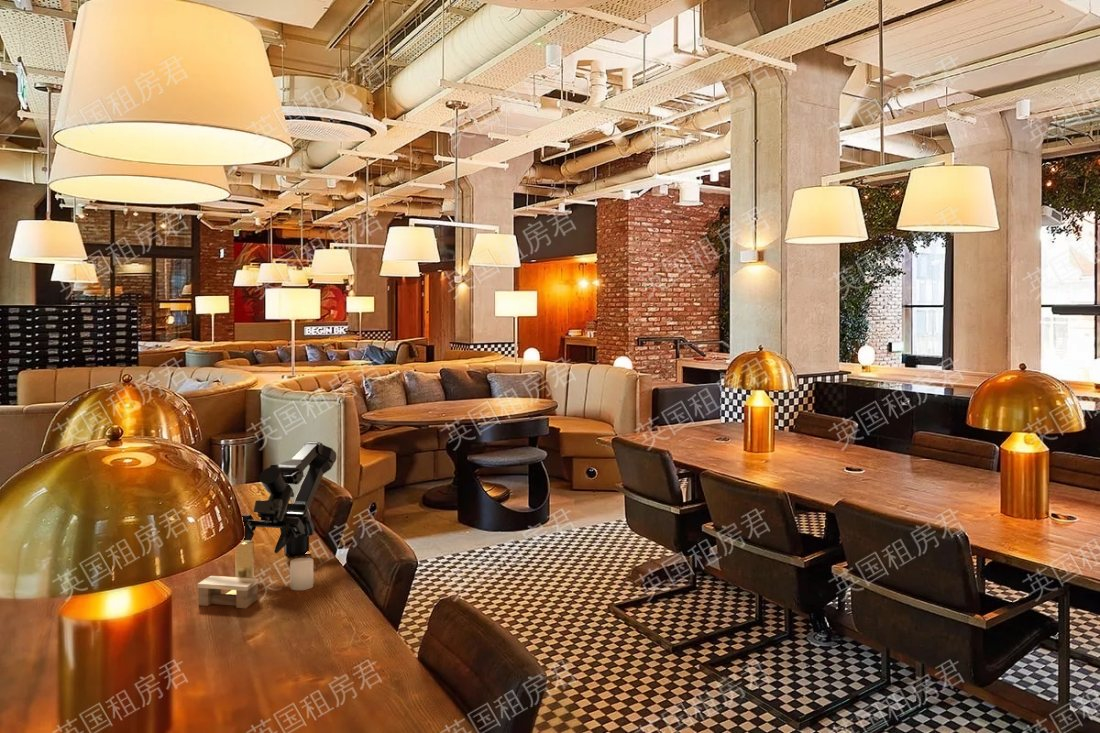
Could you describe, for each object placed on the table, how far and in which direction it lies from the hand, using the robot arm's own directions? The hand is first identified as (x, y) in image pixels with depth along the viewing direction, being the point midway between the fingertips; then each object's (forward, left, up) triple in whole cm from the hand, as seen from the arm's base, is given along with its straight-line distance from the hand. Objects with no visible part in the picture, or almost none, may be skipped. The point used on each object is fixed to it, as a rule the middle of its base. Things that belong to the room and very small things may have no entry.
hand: (259, 551), depth 207 cm
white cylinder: (-9, +11, -8) cm, 16 cm away
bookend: (+7, +9, -8) cm, 14 cm away
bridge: (+11, +13, -8) cm, 18 cm away
